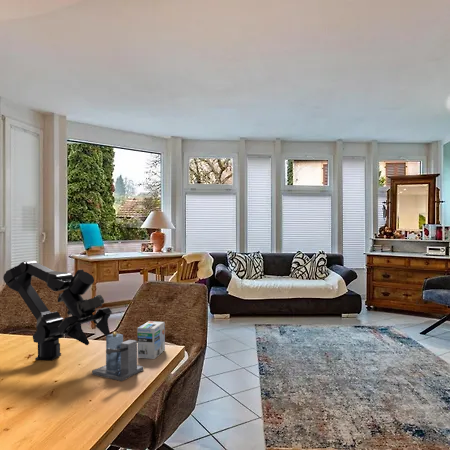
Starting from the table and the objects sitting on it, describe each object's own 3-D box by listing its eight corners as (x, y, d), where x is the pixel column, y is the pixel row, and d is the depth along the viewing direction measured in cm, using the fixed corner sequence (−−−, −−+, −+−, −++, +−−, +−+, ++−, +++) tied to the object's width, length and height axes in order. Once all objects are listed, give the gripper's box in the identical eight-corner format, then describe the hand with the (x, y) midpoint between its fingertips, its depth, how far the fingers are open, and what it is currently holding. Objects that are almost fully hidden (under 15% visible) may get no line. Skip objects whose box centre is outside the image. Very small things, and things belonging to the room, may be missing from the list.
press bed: (81, 379, 117) (80, 344, 117) (115, 364, 130) (114, 332, 130) (110, 386, 112) (110, 349, 112) (143, 370, 125) (143, 337, 125)
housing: (106, 371, 121) (107, 335, 121) (105, 365, 125) (105, 330, 125) (123, 368, 123) (124, 333, 123) (121, 363, 127) (121, 329, 127)
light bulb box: (154, 359, 135) (154, 328, 135) (136, 358, 136) (136, 327, 136) (165, 350, 146) (165, 321, 146) (148, 349, 147) (148, 320, 147)
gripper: (64, 292, 121) (89, 332, 116) (108, 284, 138) (131, 319, 133) (47, 314, 125) (71, 354, 120) (91, 304, 141) (114, 339, 136)
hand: (99, 340), depth 127 cm, fingers open, 9 cm apart
